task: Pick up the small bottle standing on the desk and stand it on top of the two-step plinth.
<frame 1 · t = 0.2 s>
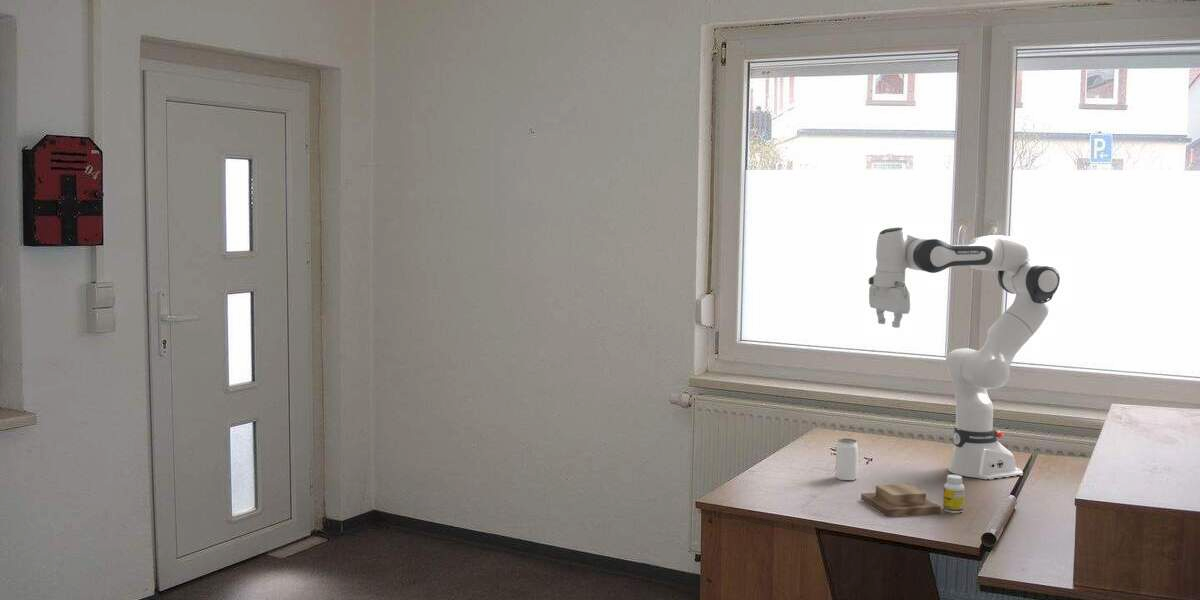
hand: (888, 325, 321), 48 cm above the table, tool pointing down, fingers open, 8 cm apart
plinth: (899, 506, 293), on the table
supplement bottle: (953, 511, 290), on the table
can: (846, 479, 323), on the table
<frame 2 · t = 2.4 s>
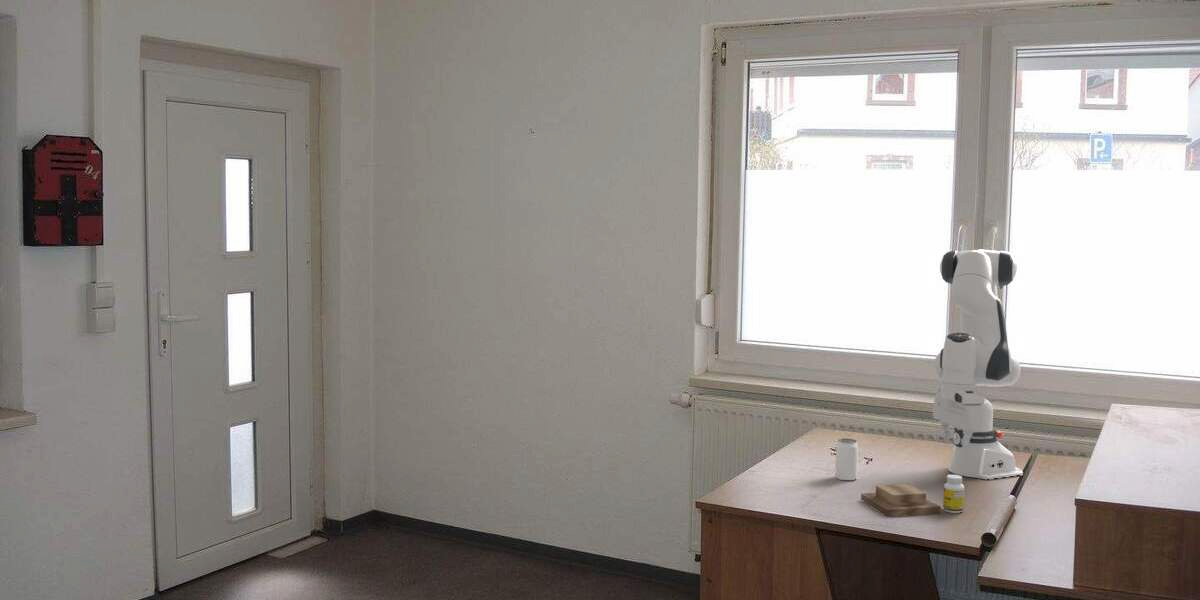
hand: (955, 441, 288), 19 cm above the table, tool pointing down, fingers open, 8 cm apart
nothing on the table moved.
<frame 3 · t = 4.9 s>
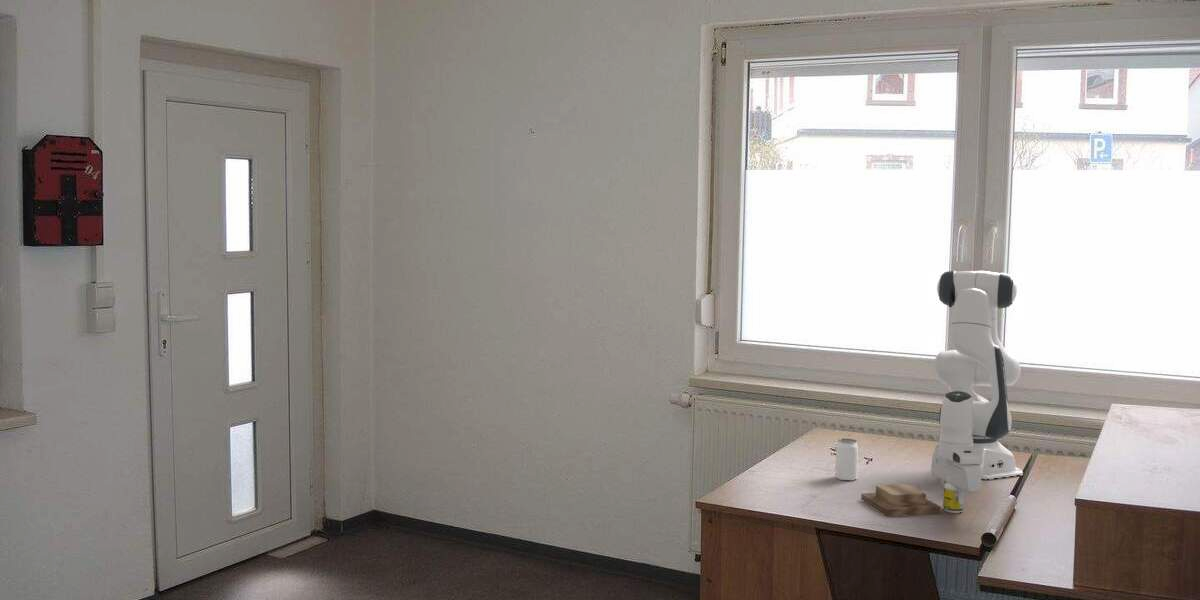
hand: (953, 499, 290), 3 cm above the table, tool pointing down, fingers closed on supplement bottle, 5 cm apart
supplement bottle: (953, 511, 290), on the table, touching gripper
everything else where it was.
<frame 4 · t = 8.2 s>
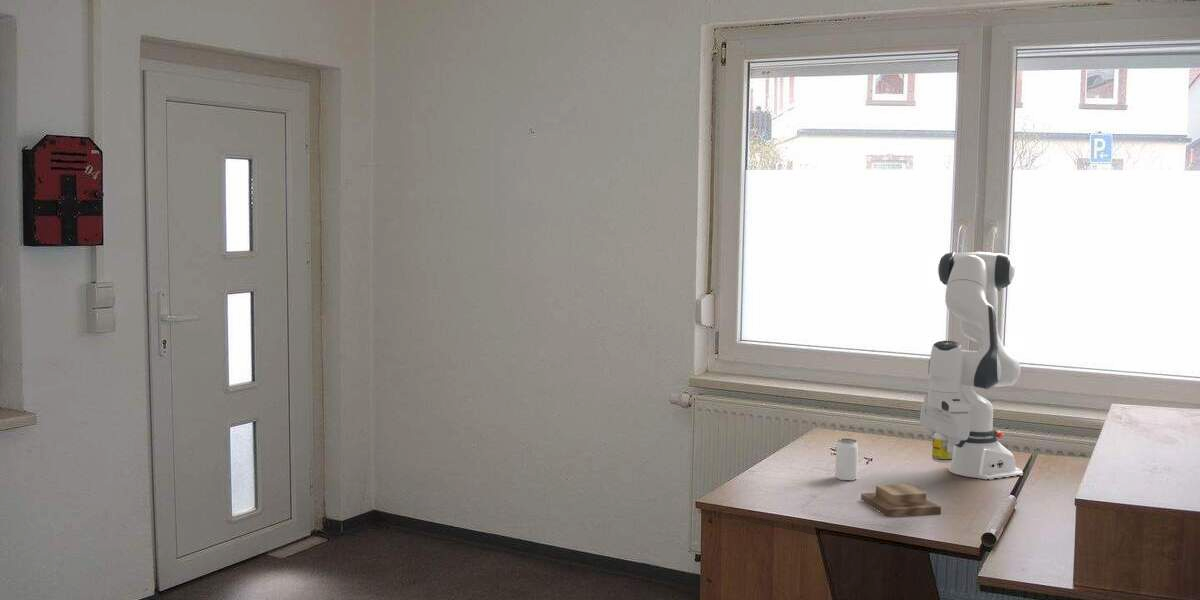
hand: (942, 449, 289), 17 cm above the table, tool pointing down, fingers closed on supplement bottle, 5 cm apart
supplement bottle: (942, 461, 289), point 14 cm above the table, touching gripper
everything else where it was.
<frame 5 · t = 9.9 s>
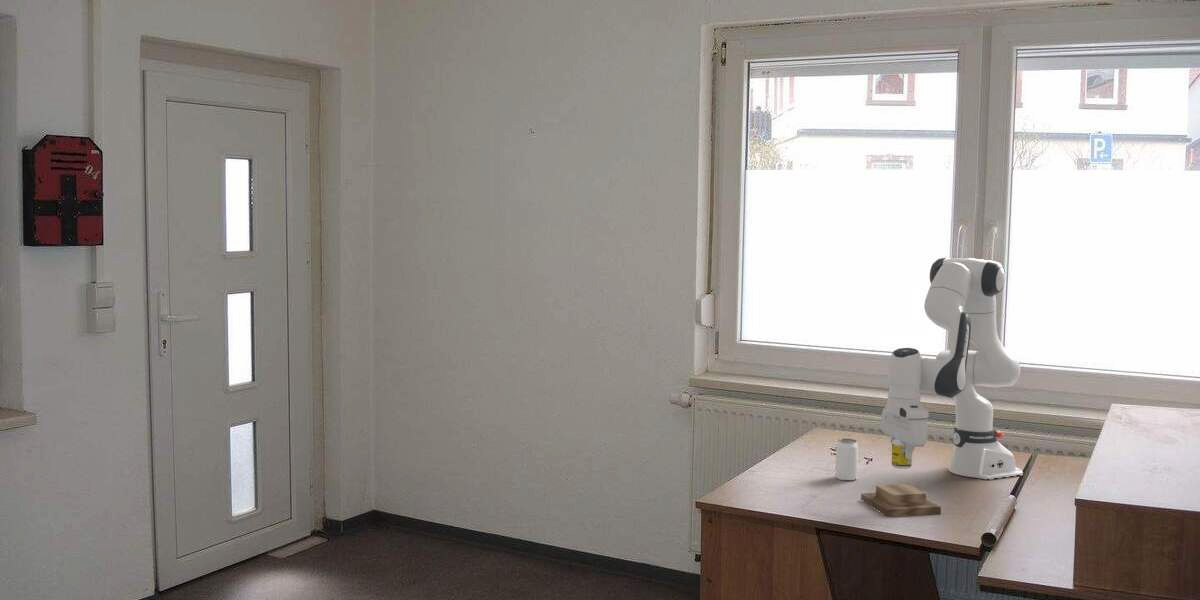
hand: (901, 455, 292), 15 cm above the table, tool pointing down, fingers closed on supplement bottle, 5 cm apart
supplement bottle: (901, 467, 292), point 11 cm above the table, touching gripper
everything else where it was.
when the fingers open (9 cm above the table, at t = 11.5 s): supplement bottle stays where it is, resting on plinth.
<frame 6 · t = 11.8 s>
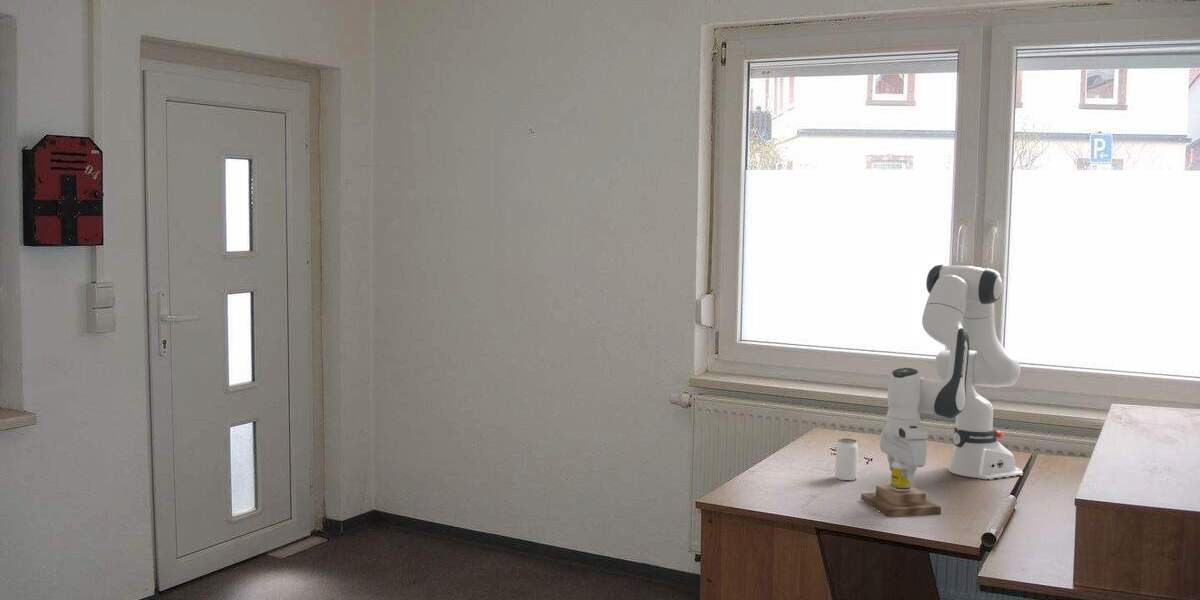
hand: (901, 475, 293), 9 cm above the table, tool pointing down, fingers open, 8 cm apart
supplement bottle: (900, 490, 293), point 5 cm above the table, touching plinth
everything else where it was.
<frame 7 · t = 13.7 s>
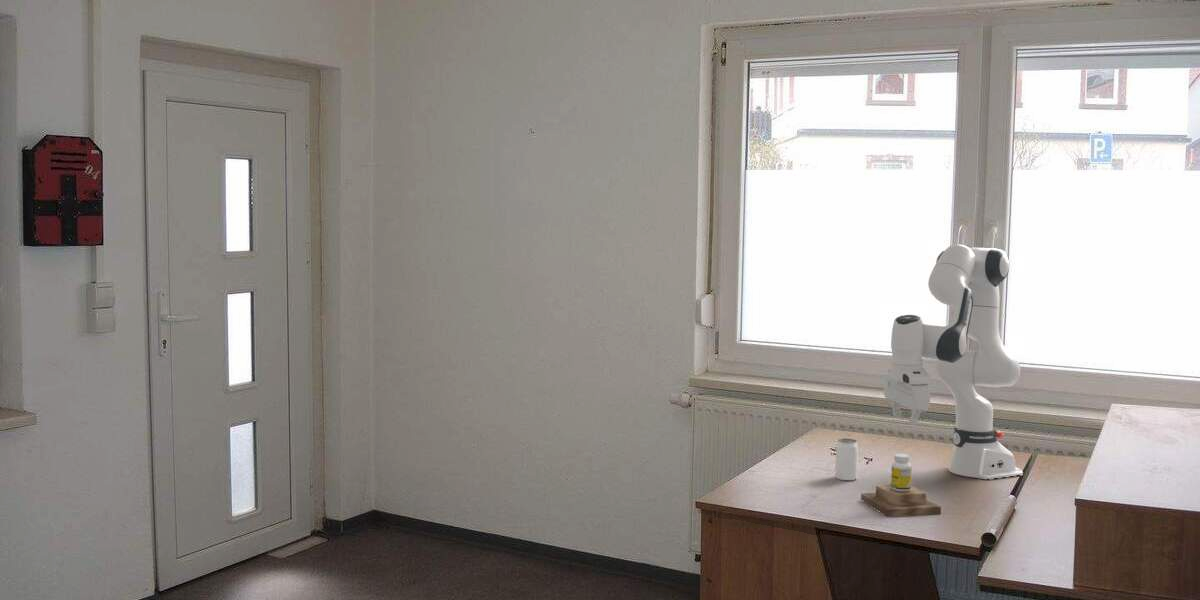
hand: (905, 420, 297), 23 cm above the table, tool pointing down, fingers open, 8 cm apart
nothing on the table moved.
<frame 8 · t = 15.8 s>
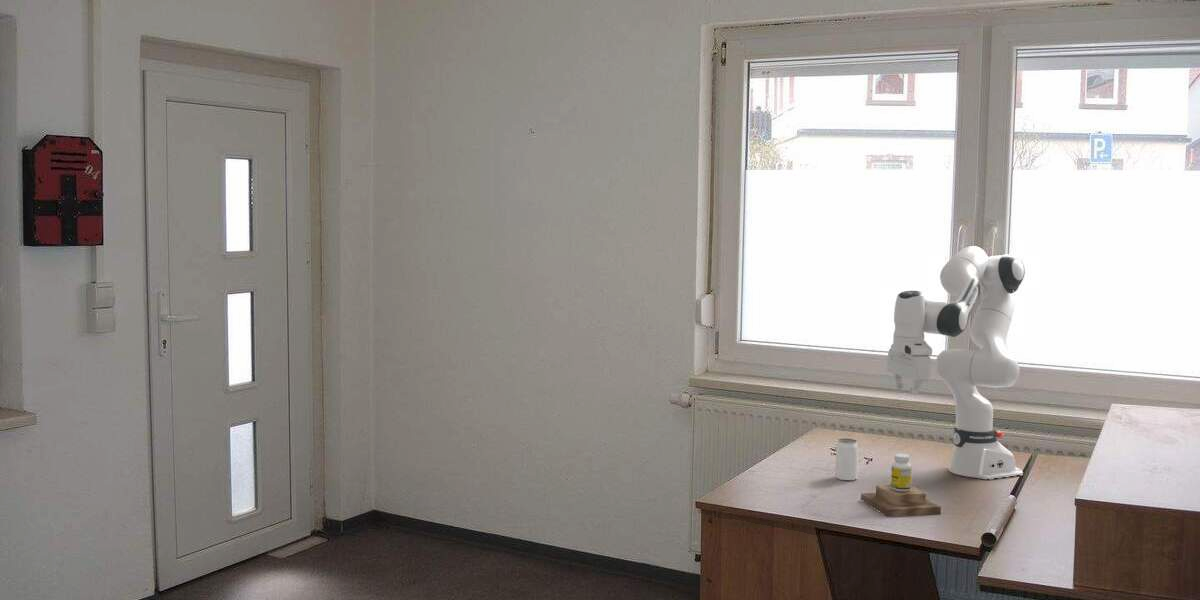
hand: (906, 391, 311), 29 cm above the table, tool pointing down, fingers open, 8 cm apart
nothing on the table moved.
at the end: supplement bottle inside the target area on the plinth (0.1 cm from its centre), point 4.8 cm above the plinth's base; supplement bottle tilted 0°; the gripper is holding nothing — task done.
